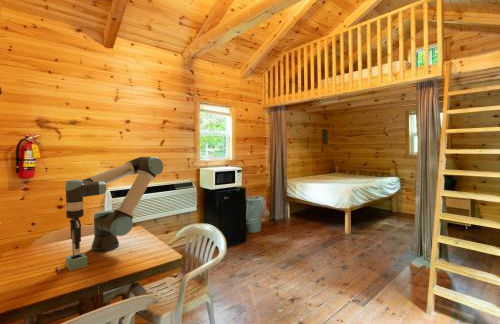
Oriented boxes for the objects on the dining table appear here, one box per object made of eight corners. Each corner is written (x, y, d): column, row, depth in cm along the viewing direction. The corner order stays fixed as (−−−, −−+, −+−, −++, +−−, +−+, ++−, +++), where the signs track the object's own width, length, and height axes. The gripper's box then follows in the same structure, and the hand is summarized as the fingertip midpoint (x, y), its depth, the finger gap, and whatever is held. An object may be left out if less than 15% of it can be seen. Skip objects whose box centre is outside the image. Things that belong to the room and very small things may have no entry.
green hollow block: (66, 265, 139) (65, 256, 138) (83, 261, 144) (83, 252, 144) (69, 270, 133) (69, 261, 133) (87, 266, 139) (87, 256, 138)
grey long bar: (72, 261, 138) (71, 229, 138) (78, 260, 140) (78, 228, 140) (73, 263, 136) (72, 230, 135) (80, 261, 138) (79, 229, 137)
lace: (55, 268, 135) (55, 266, 135) (58, 268, 136) (58, 266, 136) (58, 273, 130) (58, 271, 130) (60, 273, 130) (60, 271, 130)
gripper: (63, 208, 140) (64, 251, 141) (69, 213, 129) (71, 260, 130) (79, 206, 145) (80, 247, 146) (87, 210, 134) (88, 255, 135)
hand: (76, 253), depth 138 cm, fingers closed on grey long bar, 3 cm apart
